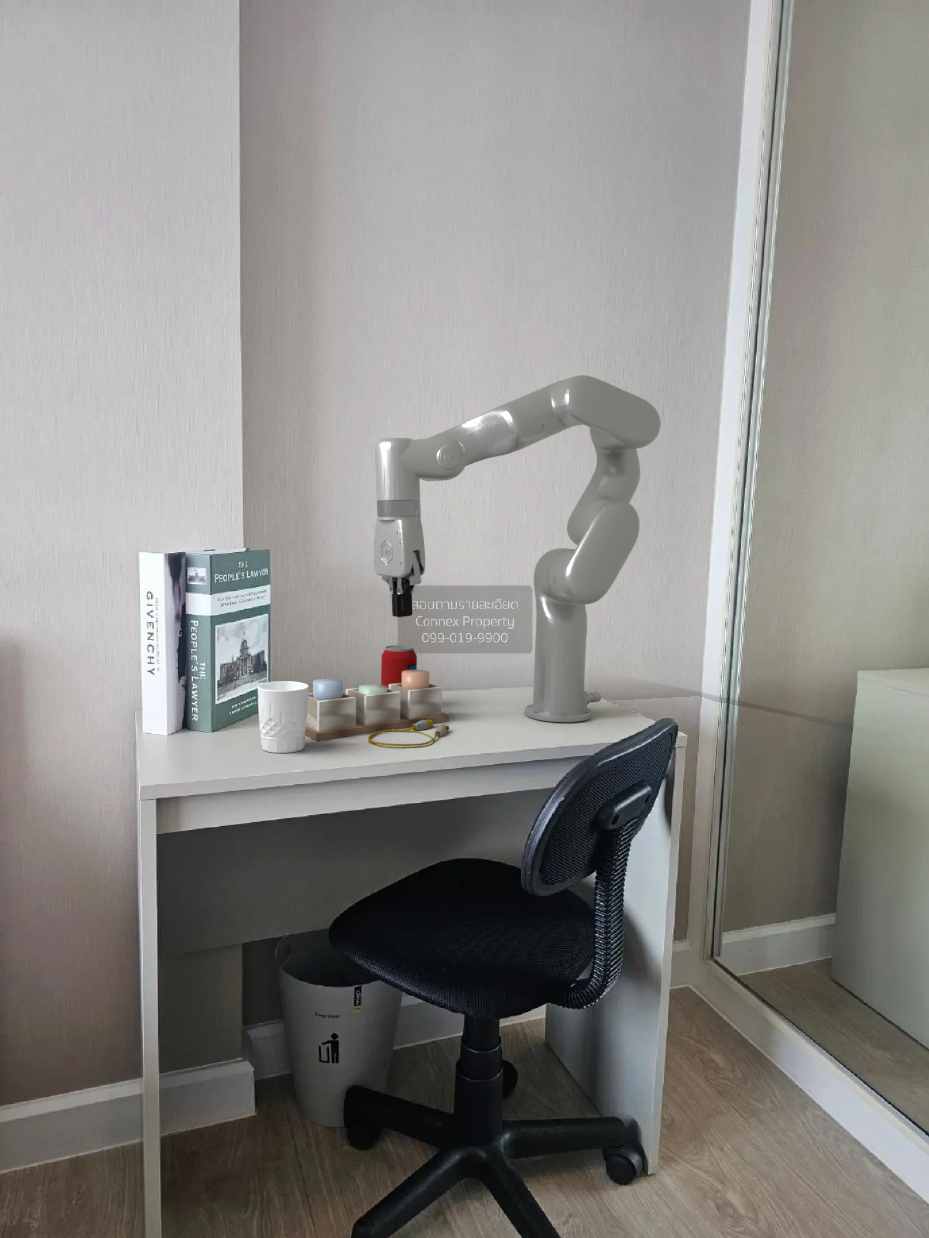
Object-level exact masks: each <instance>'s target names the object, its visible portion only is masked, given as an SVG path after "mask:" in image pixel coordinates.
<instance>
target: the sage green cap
mask: <svg viewBox="0 0 929 1238" xmlns="http://www.w3.org/2000/svg"><path fill="white" fill-rule="evenodd" d="M358 688H359V692H360V693H363V694H366V695H374V694H382V693H387V686H384V685H381V684H378V683H377V684H375V683H374V684H373V683H372V684H371V683H370V684H360V685H359V686H358Z"/></svg>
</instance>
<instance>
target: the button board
mask: <svg viewBox="0 0 929 1238" xmlns="http://www.w3.org/2000/svg"><path fill="white" fill-rule="evenodd" d="M442 703H443V687H442V686H439V685H435V684H432V683H429V688H424V689H416V690H410V689H406V688H403V687H402V683H397V684H389V688H387V693H382V694H374V695H366V694H363V693H360V692H359V687H352V688H345V693H344V692H343V698H340V699H331V700H323V701H321V700H318V699H315V698H313V692H308V709H307V720H306V731H305V737H307V738H310V739H311V740H314V741H316V742H317V741H318V742H319V741H325V740H326V741H327V740H331V739H339V738H344V737H345V738H346V737H351V736H358V735H363V734H372V733H371V732H373V733H375V732H378V731H383V730H392V729H393V730H401V729H407V728H412V725H413V724H415V723H417V722H419V721H422V720H429V719H430V720H432V721H433V724H439V723H446V722H449V721H450V714H448V713H446V712H442V708H443V707H442V705H443V704H442Z"/></svg>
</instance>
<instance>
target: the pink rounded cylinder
mask: <svg viewBox="0 0 929 1238" xmlns="http://www.w3.org/2000/svg"><path fill="white" fill-rule="evenodd" d="M429 684H430V671H428V670H423V669H422V670H421V669H417V670H405V671H402V687H403V688H406V689H410V690H416V689H424V688H429Z"/></svg>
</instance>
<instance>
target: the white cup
mask: <svg viewBox="0 0 929 1238" xmlns="http://www.w3.org/2000/svg"><path fill="white" fill-rule="evenodd" d="M309 687H310V685H309V684H307V683H305V682H304V683H303V682H300V681H289V680H284V681H279V680H278V681H269V682H264V683H263V682H262V683H260V684H258V685H257V704H258V705H257V706H258V707H257V708H258V709H257V710H258V721H259V732H260V748H261V749H262V751H264V752H268V753H274V754H287V753H295V752H296V753H297V752H299V751H301V750H303V749H304V748H305V746H306V743H305V742H306V736H305V731H306V720H307V709H308V693H309Z"/></svg>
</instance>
